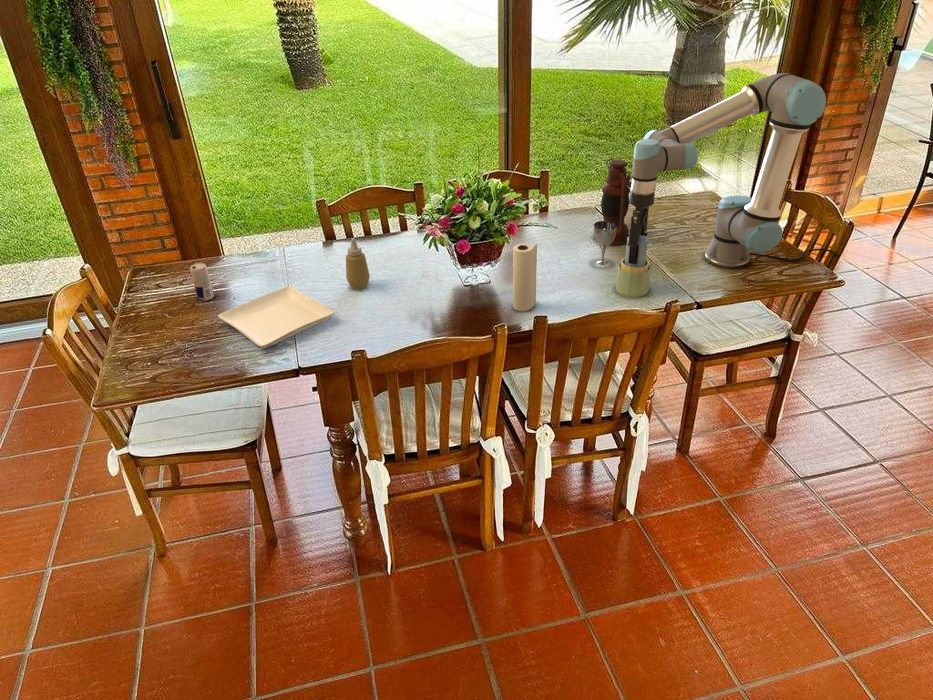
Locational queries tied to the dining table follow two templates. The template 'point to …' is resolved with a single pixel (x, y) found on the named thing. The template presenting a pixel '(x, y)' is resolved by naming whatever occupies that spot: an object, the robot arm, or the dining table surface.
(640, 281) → the stack base cup
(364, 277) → the squeeze bottle
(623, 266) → the middle cup
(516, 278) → the paper towel roll
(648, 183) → the robot arm
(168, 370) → the dining table surface
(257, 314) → the square plate
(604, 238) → the wine glass
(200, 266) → the energy drink
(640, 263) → the top cup
